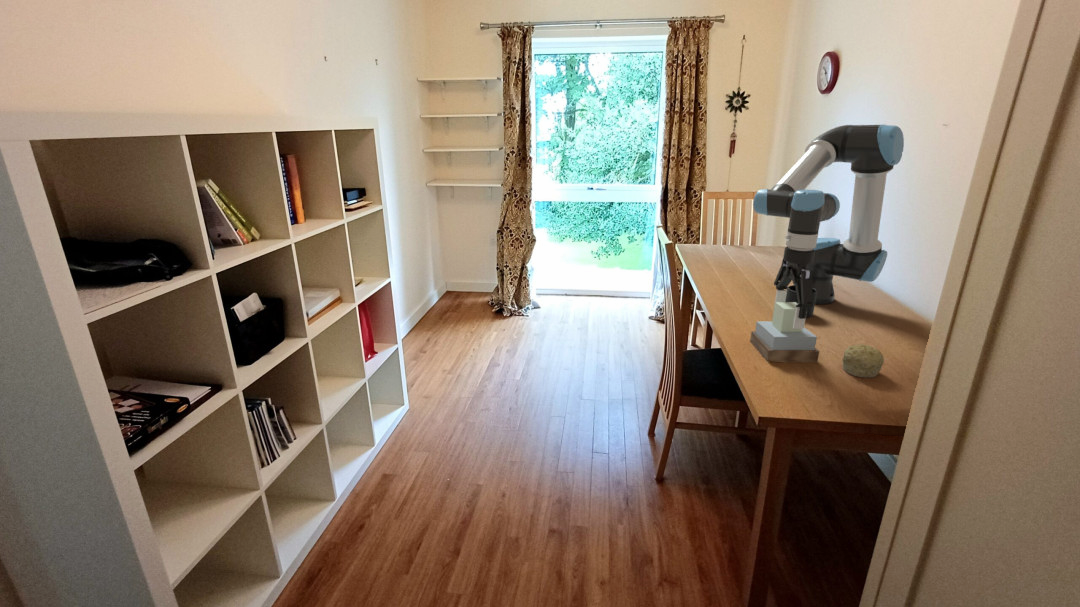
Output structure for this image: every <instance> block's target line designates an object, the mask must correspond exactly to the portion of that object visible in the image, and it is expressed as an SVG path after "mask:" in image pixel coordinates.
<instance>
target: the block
mask: <svg viewBox="0 0 1080 607" xmlns="http://www.w3.org/2000/svg"><path fill="white" fill-rule="evenodd" d="M774 305H775V306H773V313H772V319H771V320H772V325H773V326H774V327H775V328H776V329H777V330H779V331H780V332H802V329H794V328H793V322H794V317H795V311H796V305H797V303H796V302H775V301H774Z"/></svg>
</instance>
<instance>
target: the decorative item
mask: <svg viewBox="0 0 1080 607" xmlns="http://www.w3.org/2000/svg"><path fill="white" fill-rule="evenodd" d="M884 362H885V357H884V355H883V353H882V352H881V351H880V349H878V348H877V347H874V346H871V345H868V344H856V345H850V346H848V348H846V349H845V351H844V352H843V355H842V369H843V370H844V371H845V372H846V373H848V374H849V375H852V376H855V377H857V378H858V377H860V378H874V377H877V376H878V374H879V373H880V371H881V369H882V367H883V365H884Z"/></svg>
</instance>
